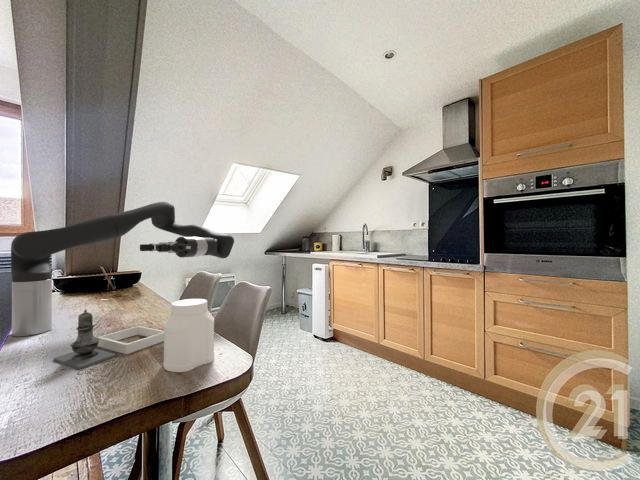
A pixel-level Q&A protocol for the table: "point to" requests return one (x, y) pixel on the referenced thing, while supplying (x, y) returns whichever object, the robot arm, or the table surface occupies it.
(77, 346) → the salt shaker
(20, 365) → the table surface
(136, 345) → the frame
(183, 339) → the jar
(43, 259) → the robot arm
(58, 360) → the rubber mat
